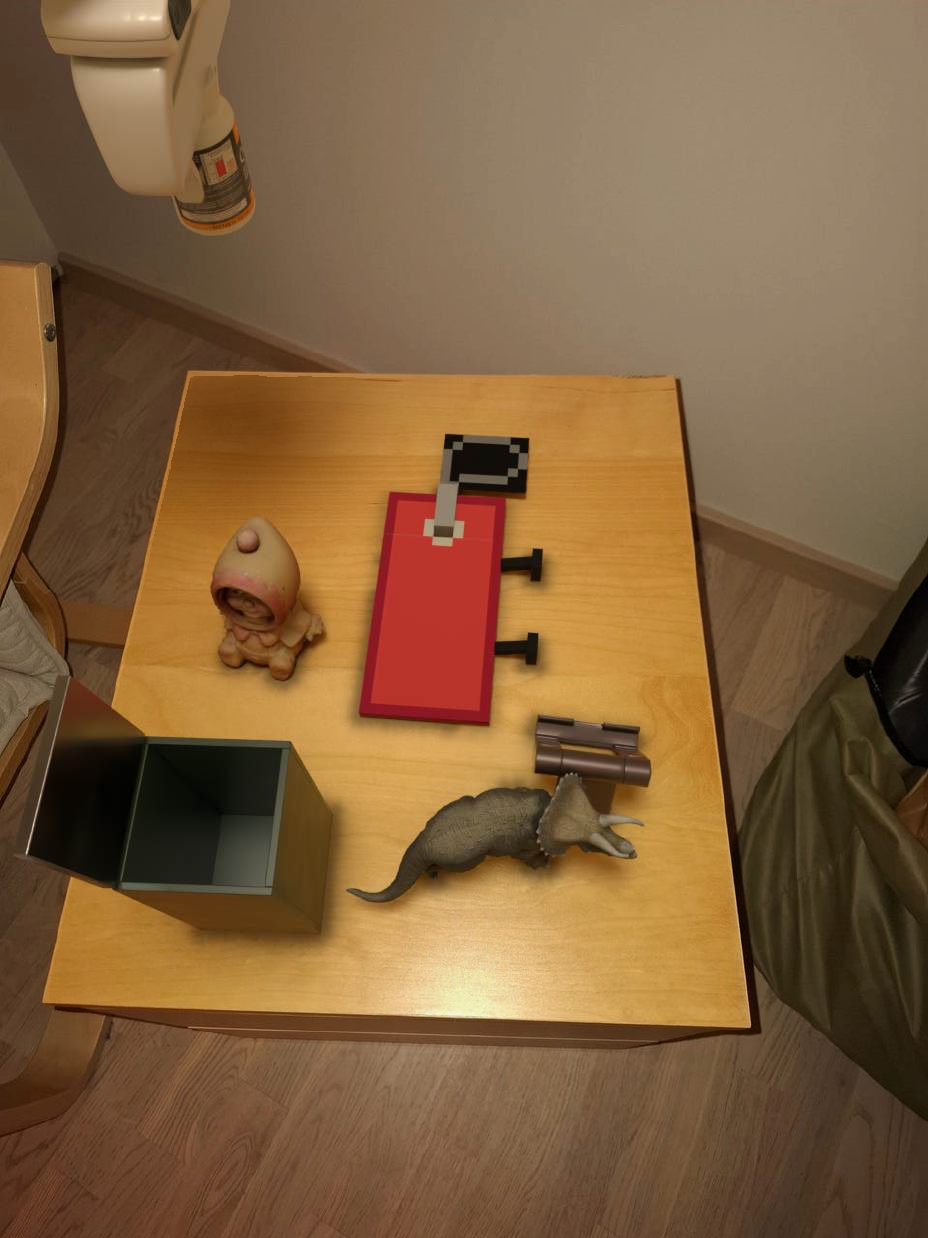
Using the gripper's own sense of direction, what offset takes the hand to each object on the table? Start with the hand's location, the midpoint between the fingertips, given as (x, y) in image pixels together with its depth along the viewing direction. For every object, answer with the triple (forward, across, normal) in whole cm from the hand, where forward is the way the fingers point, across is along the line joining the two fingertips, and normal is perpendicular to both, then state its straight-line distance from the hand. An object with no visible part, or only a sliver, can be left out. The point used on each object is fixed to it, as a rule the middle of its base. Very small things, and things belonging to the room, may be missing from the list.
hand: (202, 159), depth 61 cm
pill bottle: (+4, 0, 0) cm, 4 cm away
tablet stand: (+33, +32, +29) cm, 54 cm away
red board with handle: (+33, +13, +18) cm, 40 cm away
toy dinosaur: (+33, +38, +21) cm, 55 cm away
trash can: (+33, +41, +4) cm, 53 cm away
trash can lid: (+8, +41, -1) cm, 42 cm away
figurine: (+33, +20, +1) cm, 38 cm away
